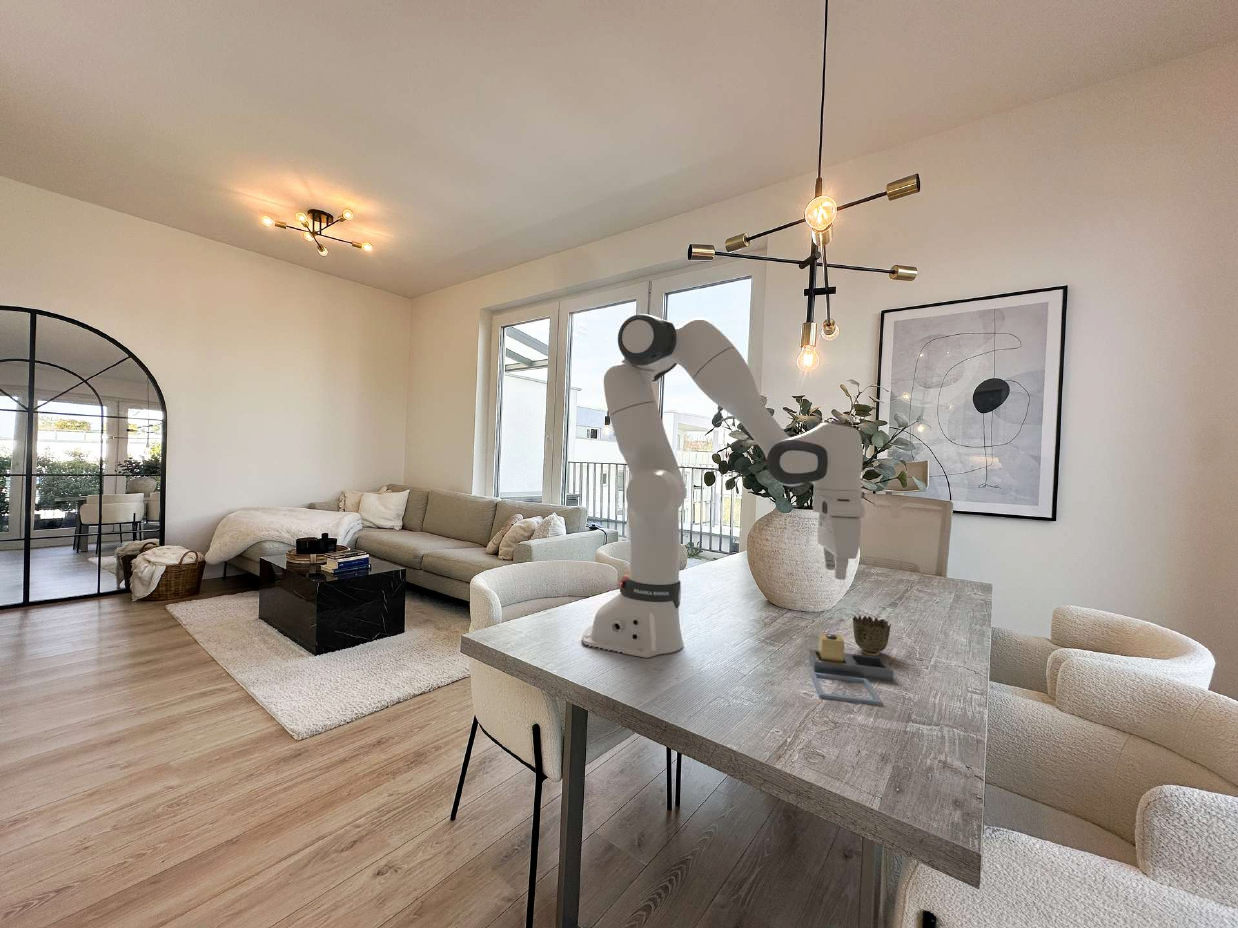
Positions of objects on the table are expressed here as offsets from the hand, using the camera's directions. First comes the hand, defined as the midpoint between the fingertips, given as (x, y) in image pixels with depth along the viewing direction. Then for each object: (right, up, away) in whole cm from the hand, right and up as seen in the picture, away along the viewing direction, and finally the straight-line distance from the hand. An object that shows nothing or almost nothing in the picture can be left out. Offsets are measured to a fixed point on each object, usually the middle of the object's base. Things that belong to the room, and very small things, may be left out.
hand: (834, 573), depth 101 cm
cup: (+12, -20, +10) cm, 25 cm away
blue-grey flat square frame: (-3, -20, -10) cm, 22 cm away
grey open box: (+2, -20, -1) cm, 20 cm away
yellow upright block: (-1, -19, 0) cm, 19 cm away
